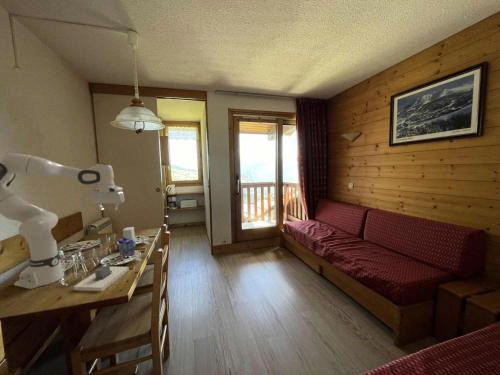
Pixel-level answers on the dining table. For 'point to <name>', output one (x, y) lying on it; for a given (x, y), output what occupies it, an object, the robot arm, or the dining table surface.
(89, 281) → the pocket plate
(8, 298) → the dining table surface
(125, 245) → the ink cartridge box
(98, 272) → the servo block
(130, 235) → the skincare box
